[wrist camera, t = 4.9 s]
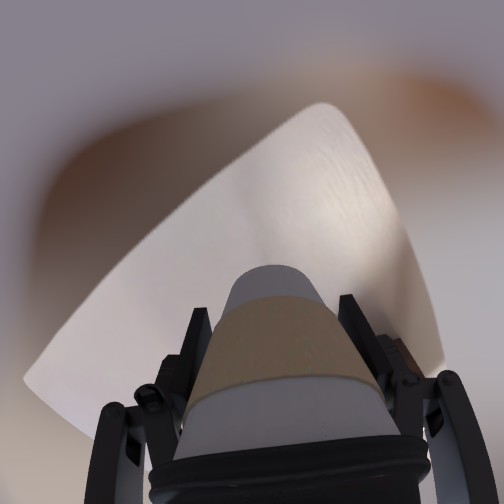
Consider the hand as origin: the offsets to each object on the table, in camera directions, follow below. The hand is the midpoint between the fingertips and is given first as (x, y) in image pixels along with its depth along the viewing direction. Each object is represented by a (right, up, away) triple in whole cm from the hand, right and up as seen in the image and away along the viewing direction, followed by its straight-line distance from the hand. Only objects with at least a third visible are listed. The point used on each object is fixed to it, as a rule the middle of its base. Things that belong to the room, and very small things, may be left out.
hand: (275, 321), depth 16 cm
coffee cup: (0, +1, +2) cm, 2 cm away
